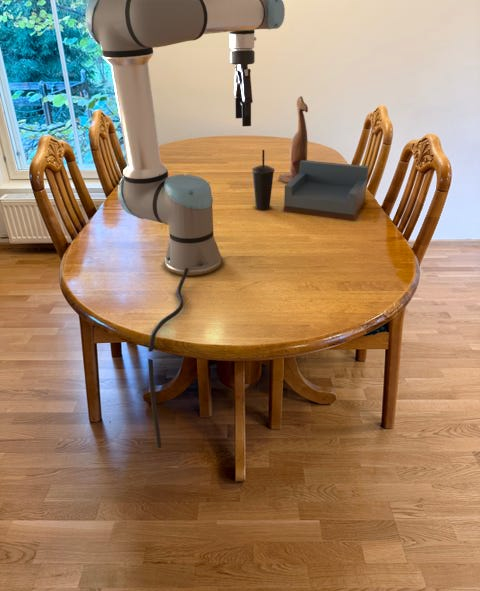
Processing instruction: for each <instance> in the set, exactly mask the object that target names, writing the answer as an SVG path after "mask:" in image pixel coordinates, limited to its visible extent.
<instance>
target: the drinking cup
mask: <svg viewBox="0 0 480 591" xmlns="http://www.w3.org/2000/svg"><path fill="white" fill-rule="evenodd" d="M261 151H262V153H261V154H262V156H261V158H262V159H261V161H262V162H261V164H260V165H256V166H254V167H251V173H252V180H253V193H254V204H255V209H256V210H258V211H267V210H269V209H270V206H271V199H272V198H271V197H272V189H273V181H274V173H275V168H274V167H272V166H270V165H267V164H265V149H262V150H261Z"/></svg>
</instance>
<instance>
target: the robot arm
mask: <svg viewBox="0 0 480 591" xmlns="http://www.w3.org/2000/svg"><path fill="white" fill-rule="evenodd" d="M285 12H286V9H285V3H284V1H283V0H89V1H88V2H87V5H86V9H85V25H86V30H87V32H88V35H89V36H90V38H91V39H92V40H93V42H94V43H95V44H96V45H98V46H100V48H101V54H102V58H103V60H105V61H106V62H107V63H108V64H109V65H110V66H111V67H110V68H111V74H112V79H113V85H114V86H113V87H114V93H115V97H116V98H115V99H116V104H117V110H118V117H119V121H120V128H121V134H122V140H123V146H124V151H125V152H124V153H125V157H126V162H127V165H126V167H125V168H124V169H123V171H122V177H121V178H120V180H119V182H118V184H119V185H118V186H117V198H118V199H117V200H118V202H119V204H120V206H121V208H122V209H123V210H124V212H126V213H127V214H129V215H131V216H133V217H135V218H138V219H142V220H148V221H152V222H155V223H160V224H164V225H168V233H169V240H168V245H167V248H166V252H165V256H164V257H165V258H164V262H165V263H164V264H165V268H166V269H167V271H169V272H170V273H172V274H174V275H178V276H181V278H180V281H179V282H178V285H177V288H176V298H177V299H178V306H177V308H176V309H175V310H174V311H173V312H171V313H170V314H168V315H166V316H165V317H164V318H161V320H160V321H159V322H158V323H157V324H156V326H155V327H154V329H152V332H151V334H150V337H149V343H148V350H147V351H148V352H149V353H151V352H153V351H154V345H155V339H156V335H157V333H158V332H159V331H160V329H161V328H162V327H163V326H164V324H166V323H167V322H169V321H170V320H171V319H173V318H175V317H176V316H177V315H178V314H179V313H180V312H181V311H182V309H183V307H184V300H183V299H184V298H183V297H182V287H183V285H184V283H185V280H186V278H187V277H199V276H204V275H208V274H211V273H213V272H215V271H216V270H218V269H219V268H220V267H221V265H222V255H221V252H220V249H219V247H218V244H217V242H216V239H215V236H214V214H213V203H214V199H213V195H212V188H211V185H210V183H209V182H208V181H207V180H205V179H204V178H202V177H200V176H196V175H195V174H194V175H193V174H184V173H183V174H182V173H181V174H174V175H170V176H169V171H168V166H166V165H165V164H164V163H163V162H162V161H161V160H162V159H161V153H160V146H159V139H158V138H159V137H158V130H157V122H156V115H155V106H154V100H153V99H154V98H153V91H152V84H151V74H150V68H149V62H150V60H151V59H152V57H153V55H154V48H155V49H156V48H162V47H167V46H172V45H177V44H180V43H186V42H190V41H191V42H192V41H197V40H199V39H200V38H202V37H203V36H204V35H210V34H212V35H213V34H222V33H229V48H230V49H231V50H230V51H229V60H230V61H229V62H230V64H231V65H234V87H233V88H234V89H233V94H234V109H235V110H234V112H235V113H234V114H235V115H234V116H235V119H241V126H242V127H252V104H253V92H252V91H253V90H252V78H251V72H252V70H251V68H249V65H253V64H255V54H256V52H255V50H254V49H255V42H256V41H257V37H256V36H255V34H256V33H255V32H256V31H255V30H277V29H280V28H281V26H283V23H284V21H285V16H286V15H285V14H286V13H285ZM147 364H148V378H149V379H148V381H149V393H150V402H151V410H152V411H151V412H152V419H153V425H154V432H155V441H156V447H157V449H161V448H162V440H161V439H162V438H161V432H160V430H161V429H160V423H159V414H158V409H157V408H158V407H157V401H156V400H157V399H156V391H155V377H154V360H153V359H151V358H148V359H147Z"/></svg>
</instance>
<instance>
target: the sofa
mask: <svg viewBox="0 0 480 591" xmlns="http://www.w3.org/2000/svg"><path fill="white" fill-rule="evenodd" d="M369 169H370V167H369V166H368V165H359V164H350V163H340V162H339V163H338V162H330V161H329V162H328V161H319V160H318V161H317V160H308V159H307V160H301V161H300V173H299V174H297V175H296V176H295V177H294V178H293V179H292V180H291V181H290V182H289V183H287V182H286V184H284V196H283V199H284V200H283V201H284V202H283V212H287V213H293V214H294V213H295V214H301V215H310V216H318V217H324V218H331V219H339V220H346V221H354V220H355V219H356V217H357V216H358V214H359V213H360V210H362V207H363V206H364V204H365V202H366V194H367V185H368V177H369Z"/></svg>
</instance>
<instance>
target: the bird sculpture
mask: <svg viewBox="0 0 480 591" xmlns="http://www.w3.org/2000/svg"><path fill="white" fill-rule="evenodd" d="M295 104H296V111H297V130H296V132H295V133H294V135H293V136H292V138H291V140H290V144H289V172H286V173H281V174H279V175H278V181H280V182H283V183H286V184H287V183H289V182H290V181H291V180H292V179H293V178H294V177H295V176H296V175H297V174H299V173H300V161H301V160H308V143H309V142H308V129H307V124H306V118H305V114H304V112H305V113H308V112H309V107H308V105H307V103H306V102H305V101H304V98H303V96H301V95H300V96H298V98H297V100H296V103H295Z"/></svg>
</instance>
